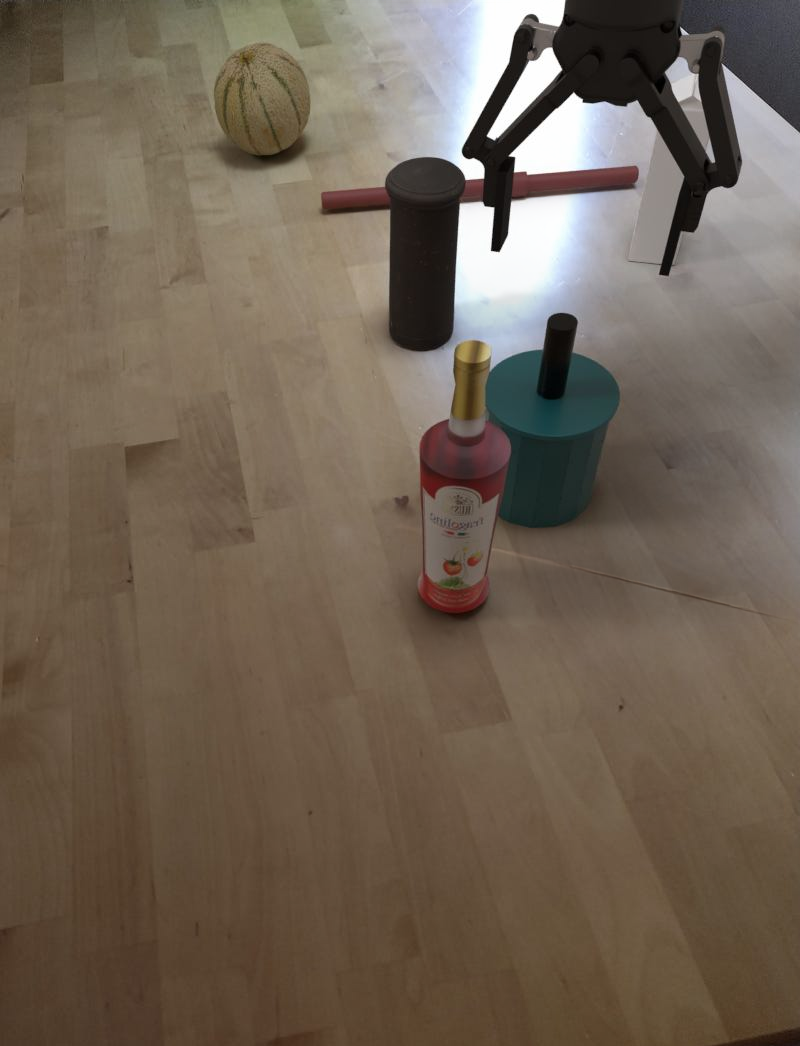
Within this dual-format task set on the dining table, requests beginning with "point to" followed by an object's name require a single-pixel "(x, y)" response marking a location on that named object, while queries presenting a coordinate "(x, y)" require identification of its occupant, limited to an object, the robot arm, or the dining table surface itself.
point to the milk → (665, 182)
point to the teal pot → (549, 478)
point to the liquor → (461, 489)
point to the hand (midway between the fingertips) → (580, 254)
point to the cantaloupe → (262, 99)
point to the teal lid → (552, 389)
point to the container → (423, 250)
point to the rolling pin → (475, 186)
